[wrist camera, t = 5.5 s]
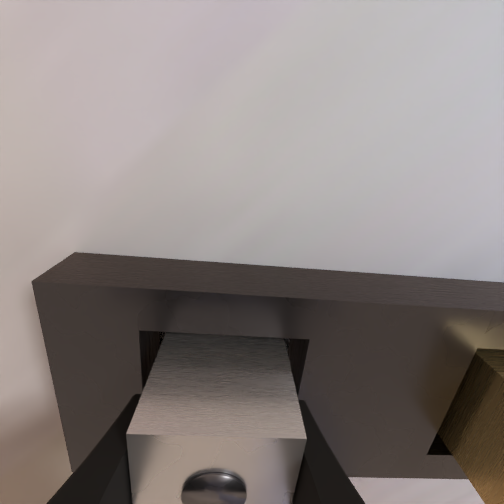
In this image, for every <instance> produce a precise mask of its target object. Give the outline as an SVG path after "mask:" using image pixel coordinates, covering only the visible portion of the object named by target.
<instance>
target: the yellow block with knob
mask: <svg viewBox="0 0 504 504" xmlns="http://www.w3.org/2000/svg"><path fill="white" fill-rule="evenodd" d="M437 433H438V435H439V436H440V438H441V439H442V441H443V442H444V443H445V445H446V446H447V448H448V449H449V451H450V452H451V454H452V455H453V457H454V458H455V460H456V461H457V463H458V464H459V466H460V467H461V469H462V470H463V472H464V473H465V475H466V476H467V478H468V479H469V480H470V482H471V483H472V485H473V486H474V488H475V489H476V491H477V492H478V494H479V495H480V497H481V498H482V500H483V501H484V503H485V504H504V350H501V349H482V348H477V350H476V352H475V354H474V356H473V359H472V361H471V363H470V365H469V367H468V369H467V371H466V373H465V375H464V377H463V379H462V382H461V384H460V386H459V388H458V390H457V392H456V394H455V396H454V398H453V400H452V402H451V405H450V407H449V409H448V411H447V413H446V415H445V417H444V419H443V421H442V423H441V425H440V428H439V430H438V432H437Z"/></svg>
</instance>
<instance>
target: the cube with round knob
mask: <svg viewBox="0 0 504 504" xmlns="http://www.w3.org/2000/svg"><path fill="white" fill-rule="evenodd" d="M126 438H127V449H128V460H129V471H130V482H131V492H132V503H133V504H292V500H293V496H294V492H295V487H296V483H297V479H298V475H299V470H300V466H301V462H302V458H303V453H304V449H305V445H306V441H307V437H306V433H305V428H304V424H303V419H302V415H301V411H300V406H299V402H298V397H297V393H296V389H295V384H294V380H293V375H292V371H291V366H290V362H289V358H288V353H287V349H286V344H285V340H284V338H274V337H255V336H236V335H217V334H198V333H179V332H166V334H165V336H164V339H163V341H162V344H161V346H160V349H159V351H158V354H157V357H156V359H155V362H154V364H153V367H152V369H151V372H150V374H149V377H148V379H147V382H146V385H145V387H144V390H143V392H142V395H141V397H140V400H139V402H138V405H137V408H136V410H135V413H134V415H133V418H132V420H131V423H130V425H129V428H128V430H127V433H126Z"/></svg>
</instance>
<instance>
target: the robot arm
mask: <svg viewBox="0 0 504 504" xmlns="http://www.w3.org/2000/svg"><path fill="white" fill-rule="evenodd" d="M141 395H142V394H135V395H134V396H132V398H131V399H130V401H129V402H128V404H127V405H126V406H125V408H124V409H123V411H122V412H121V413H120V415H119V416H118V418H117V419H116V420H115V422H114V423H113V424H112V426H111V427H110V428H109V429H108V431H107V432H106V433H105V435H104V436H103V437H102V439H101V440H100V441H99V442H98V444H97V445H96V446H95V447H94V449H93V450H92V451H91V452H90V454H89V455H88V456H87V457H86V459H85V460H84V461H83V462H82V463H81V465H80V466H79V467H78V468H77V469H76V470H75V472H74V473H73V474H72V475H71V476H70V477H69V479H68V480H67V481H66V482H65V483H64V484H63V485H62V487H61V488H60V489H59V490H58V491H57V492H56V494H55V495H54V496H53V497H52V498H51V499H50V500H49V501H48V502H47V504H133V503H132V492H131V482H130V471H129V460H128V449H127V438H126V433H127V430H128V428H129V425H130V423H131V420H132V418H133V415H134V413H135V410H136V408H137V405H138V402H139V400H140V397H141ZM298 402H299V406H300V411H301V415H302V419H303V424H304V428H305V433H306V437H307V441H306V445H305V449H304V453H303V458H302V462H301V466H300V470H299V475H298V479H297V483H296V487H295V492H294V496H293V500H292V504H365V503H364V501H363V499H362V498H361V496H360V495H359V493H358V492H357V490H356V489H355V487H354V486H353V484H352V483H351V481H350V480H349V478H348V476H347V475H346V473H345V472H344V470H343V468H342V467H341V465H340V463H339V462H338V460H337V458H336V457H335V455H334V453H333V452H332V450H331V448H330V447H329V445H328V443H327V441H326V440H325V438H324V436H323V434H322V432H321V431H320V429H319V427H318V425H317V423H316V421H315V419H314V417H313V416H312V414H311V412H310V410H309V408H308V406H307V403H306V402H305V401H304V400H298Z"/></svg>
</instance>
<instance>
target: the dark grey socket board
mask: <svg viewBox="0 0 504 504" xmlns="http://www.w3.org/2000/svg"><path fill="white" fill-rule="evenodd" d="M32 285H33V290H34V295H35V300H36V304H37V309H38V314H39V318H40V323H41V328H42V333H43V337H44V342H45V347H46V351H47V356H48V361H49V365H50V370H51V375H52V380H53V384H54V389H55V394H56V398H57V403H58V408H59V413H60V417H61V422H62V427H63V431H64V436H65V441H66V446H67V450H68V455H69V460H70V464H71V469H72V472H75V470H76V469H77V468H78V467H79V466H80V465H81V463H82V462H83V461H84V460H85V459H86V457H87V456H88V455H89V454H90V452H91V451H92V450H93V449H94V447H95V446H96V445H97V444H98V442H99V441H100V440H101V439H102V437H103V436H104V435H105V433H106V432H107V431H108V429H109V428H110V427H111V426H112V424H113V423H114V422H115V420H116V419H117V418H118V416H119V415H120V413H121V412H122V411H123V409H124V408H125V406H126V405H127V404H128V402H129V401H130V399H131V398H132V396H134V395H135V394H142V392H143V390H144V387H145V385H146V382H147V379H148V377H149V374H150V372H151V369H152V367H153V364H154V362H155V359H156V357H157V354H158V351H159V349H160V336H159V331H160V332H179V333H198V334H217V335H236V336H255V337H274V338H290V344H289V350H288V358H289V362H290V366H291V371H292V375H293V380H294V384H295V389H296V393H297V397H298V400H304V401H305V402H306V403H307V406H308V408H309V410H310V412H311V414H312V416H313V417H314V419H315V421H316V423H317V425H318V427H319V429H320V431H321V432H322V434H323V436H324V438H325V440H326V441H327V443H328V445H329V447H330V448H331V450H332V452H333V453H334V455H335V457H336V458H337V460H338V462H339V463H340V465H341V467H342V468H343V470H344V472H345V473H346V475H347V476H348V477H376V478H432V479H468V478H467V476H466V475H465V473H464V472H463V470H462V469H461V467H460V466H459V464H458V463H457V461H456V460H455V458H454V457H453V455H452V454H451V452H450V451H449V449H448V448H447V446H446V445H445V443H444V442H443V441H442V439H441V438H440V436H439V435H438V433H437V432H438V430H439V428H440V425H441V423H442V421H443V419H444V417H445V415H446V413H447V411H448V409H449V407H450V405H451V402H452V400H453V398H454V396H455V394H456V392H457V390H458V388H459V386H460V384H461V382H462V379H463V377H464V375H465V373H466V371H467V369H468V367H469V365H470V363H471V361H472V359H473V356H474V354H475V352H476V350H477V348H482V349H501V350H504V283H501V282H487V281H473V280H459V279H444V278H430V277H416V276H402V275H388V274H374V273H360V272H346V271H331V270H317V269H303V268H289V267H275V266H261V265H247V264H233V263H218V262H204V261H190V260H176V259H162V258H148V257H134V256H120V255H105V254H91V253H77V252H75V253H73V254H72V255H70V256H69V257H67V258H66V259H64V260H63V261H61V262H60V263H58V264H57V265H55V266H54V267H52V268H51V269H49V270H48V271H46V272H45V273H43V274H42V275H40V276H39V277H37V278H36V279H34V280H33V281H32Z"/></svg>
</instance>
